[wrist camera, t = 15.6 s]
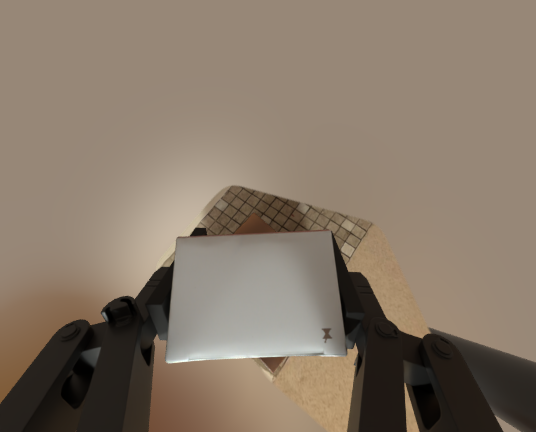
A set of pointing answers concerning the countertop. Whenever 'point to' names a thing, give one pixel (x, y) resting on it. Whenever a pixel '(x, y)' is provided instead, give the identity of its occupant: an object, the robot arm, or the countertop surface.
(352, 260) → the countertop surface
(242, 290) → the small box
